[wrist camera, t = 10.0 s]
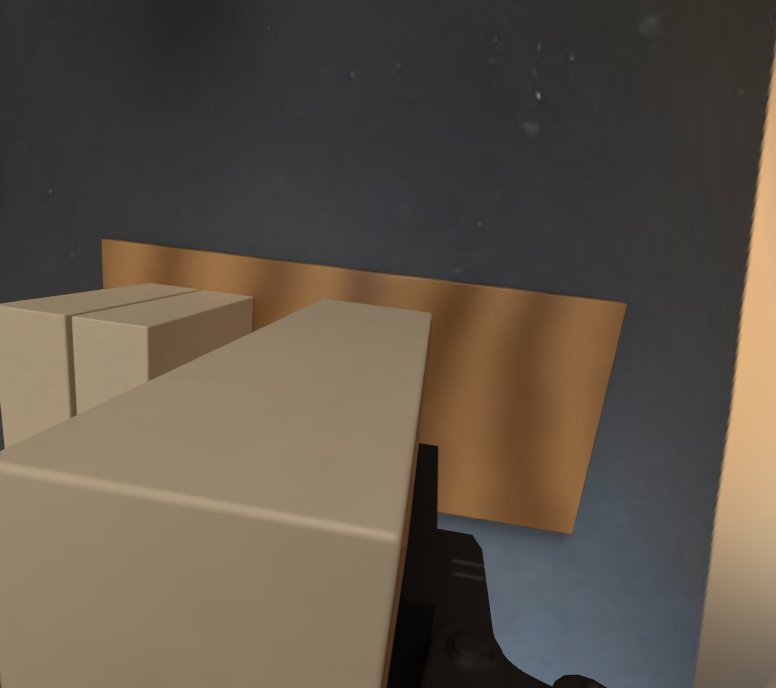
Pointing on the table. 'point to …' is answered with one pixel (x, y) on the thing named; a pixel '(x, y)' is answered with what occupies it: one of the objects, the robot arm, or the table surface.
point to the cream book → (223, 516)
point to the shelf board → (450, 368)
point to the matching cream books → (103, 347)
